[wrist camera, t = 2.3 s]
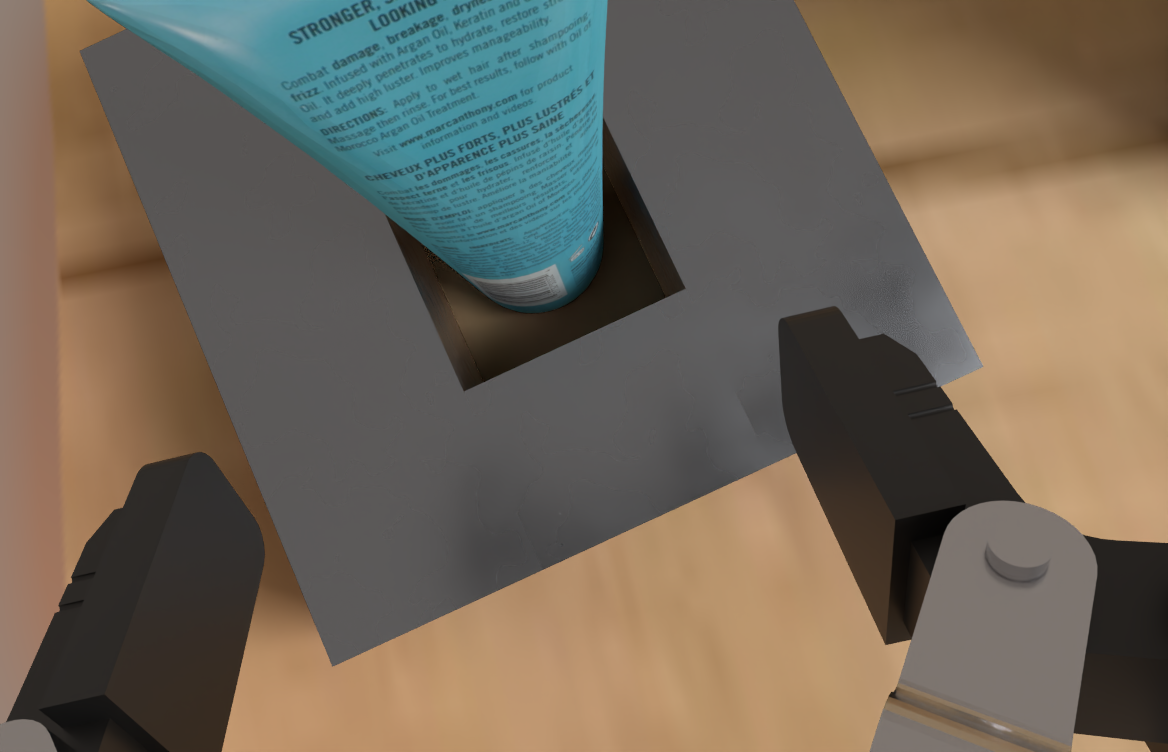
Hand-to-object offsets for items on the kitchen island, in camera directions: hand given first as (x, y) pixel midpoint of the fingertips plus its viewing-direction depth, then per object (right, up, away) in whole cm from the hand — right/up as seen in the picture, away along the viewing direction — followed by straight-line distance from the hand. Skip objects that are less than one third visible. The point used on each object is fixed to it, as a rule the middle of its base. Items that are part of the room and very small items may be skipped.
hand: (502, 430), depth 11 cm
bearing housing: (-1, +5, +17) cm, 18 cm away
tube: (-1, +5, +18) cm, 18 cm away
